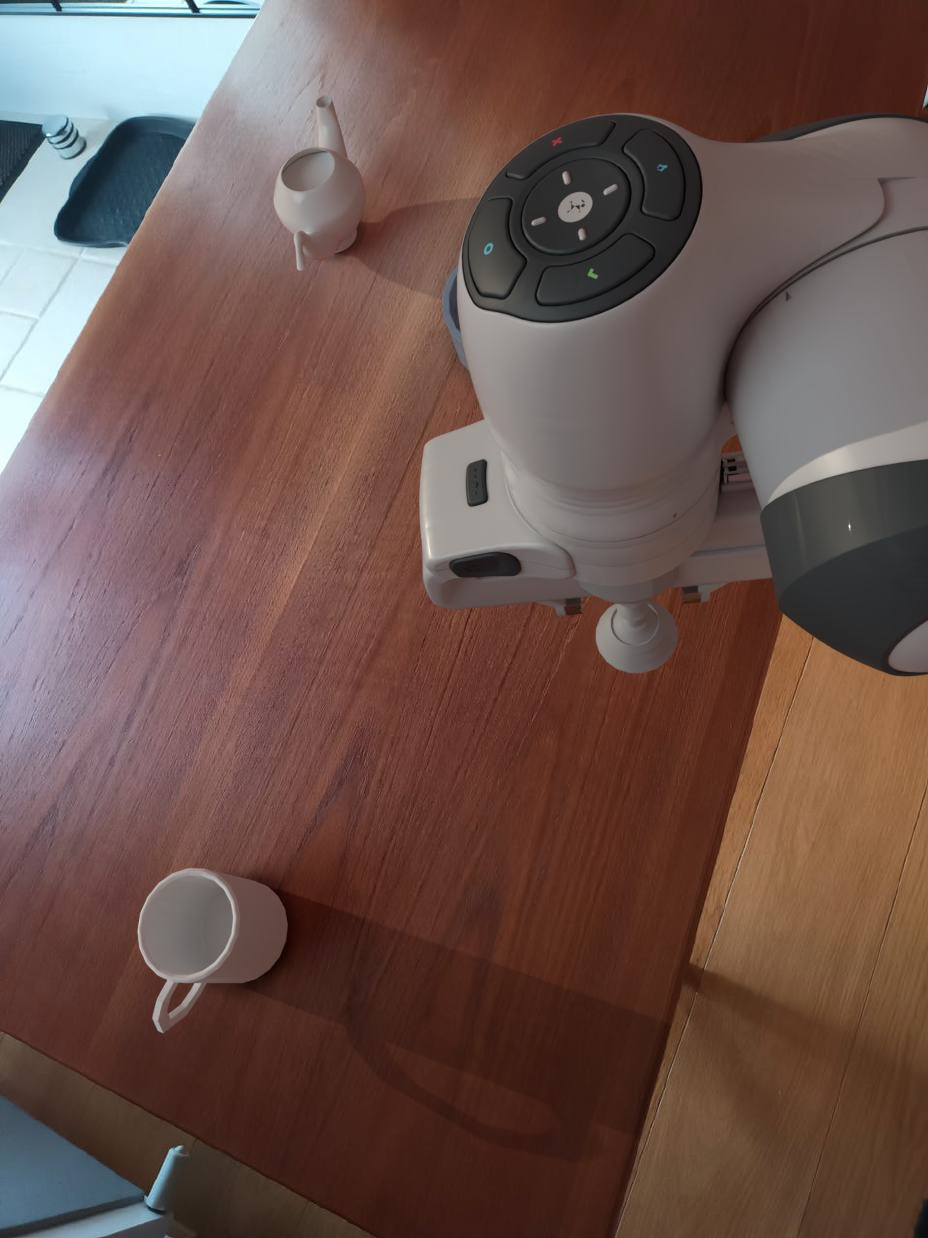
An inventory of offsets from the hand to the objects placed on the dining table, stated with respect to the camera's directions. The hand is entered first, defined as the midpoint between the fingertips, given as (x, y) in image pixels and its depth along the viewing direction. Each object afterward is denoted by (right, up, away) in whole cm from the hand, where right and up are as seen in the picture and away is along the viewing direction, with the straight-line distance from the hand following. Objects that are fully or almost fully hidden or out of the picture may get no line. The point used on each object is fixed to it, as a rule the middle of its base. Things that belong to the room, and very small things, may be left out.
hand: (631, 596), depth 54 cm
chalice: (+1, -2, +6) cm, 7 cm away
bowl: (-3, +28, +41) cm, 50 cm away
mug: (-28, -29, +25) cm, 48 cm away
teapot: (-23, +41, +51) cm, 69 cm away
